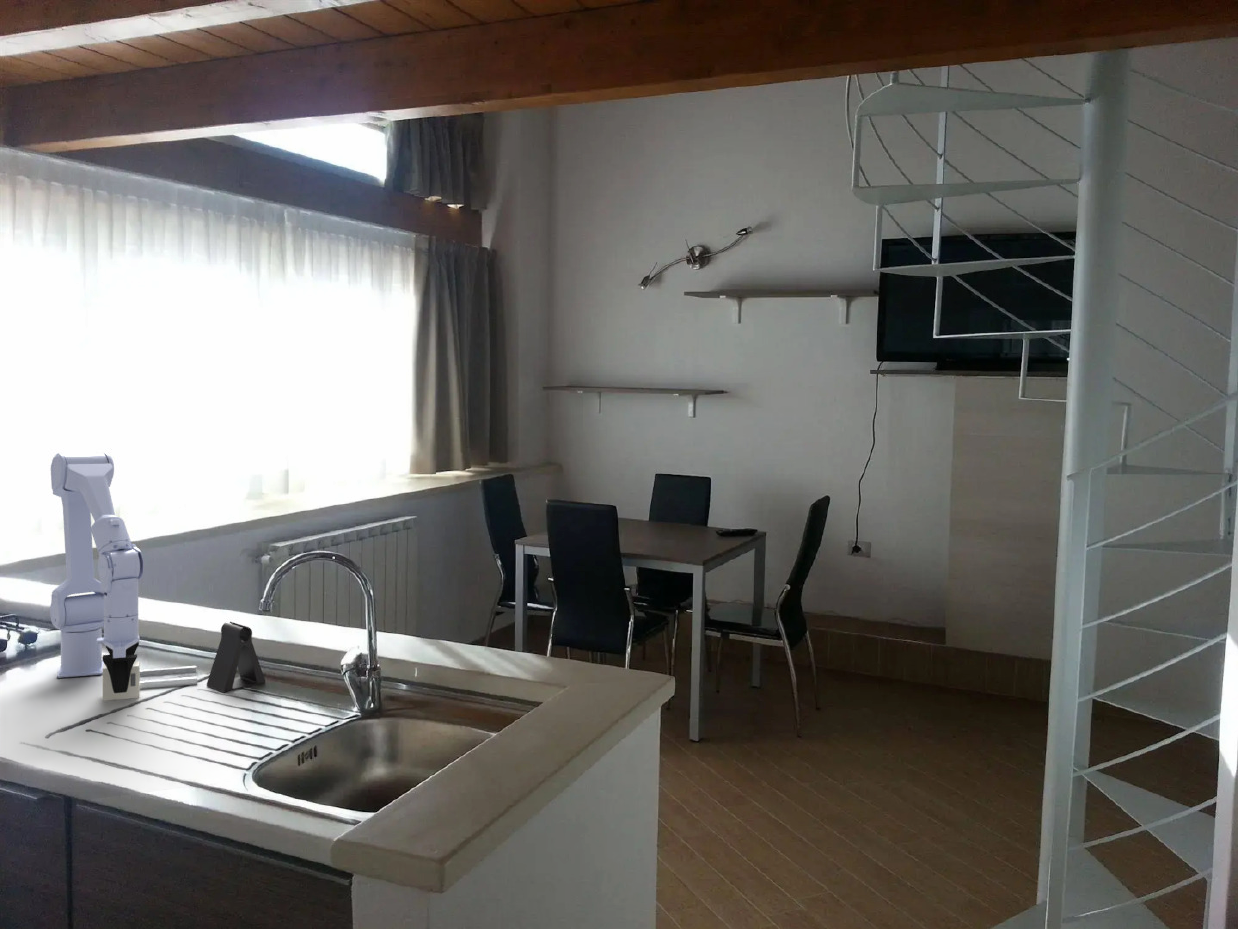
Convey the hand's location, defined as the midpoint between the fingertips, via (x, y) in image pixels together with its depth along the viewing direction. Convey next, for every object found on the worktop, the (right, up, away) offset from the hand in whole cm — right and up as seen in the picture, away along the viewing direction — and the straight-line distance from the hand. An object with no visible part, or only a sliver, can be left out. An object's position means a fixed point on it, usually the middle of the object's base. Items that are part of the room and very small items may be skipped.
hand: (121, 686), depth 182 cm
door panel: (0, -2, 0) cm, 2 cm away
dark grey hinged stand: (+18, -2, +9) cm, 20 cm away
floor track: (+1, -1, +9) cm, 10 cm away
